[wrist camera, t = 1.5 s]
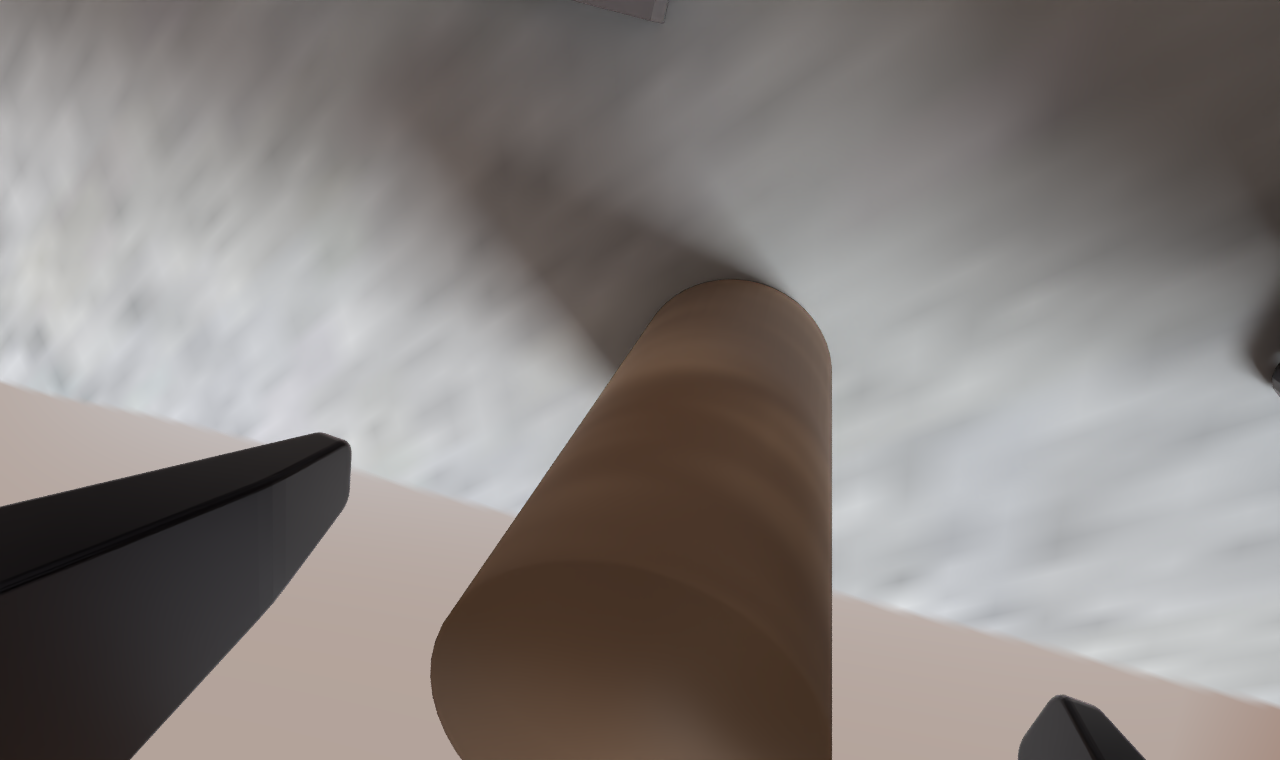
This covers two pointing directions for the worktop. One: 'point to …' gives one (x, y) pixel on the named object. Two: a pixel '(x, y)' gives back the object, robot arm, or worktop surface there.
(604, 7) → the white mini table
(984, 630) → the worktop surface
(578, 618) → the walnut cylinder
